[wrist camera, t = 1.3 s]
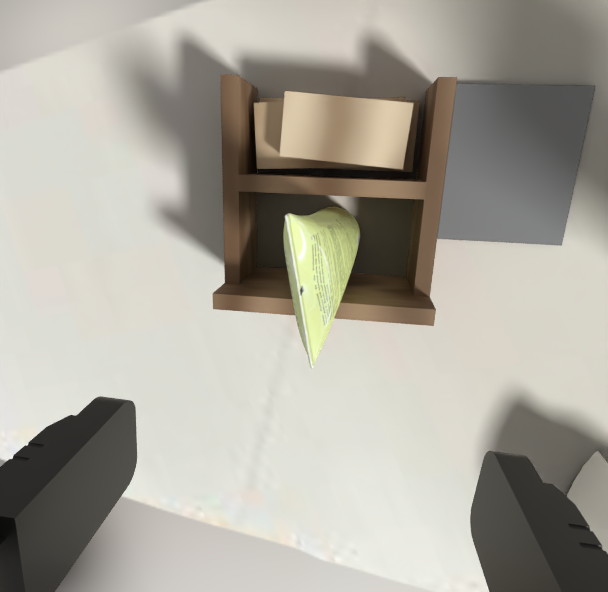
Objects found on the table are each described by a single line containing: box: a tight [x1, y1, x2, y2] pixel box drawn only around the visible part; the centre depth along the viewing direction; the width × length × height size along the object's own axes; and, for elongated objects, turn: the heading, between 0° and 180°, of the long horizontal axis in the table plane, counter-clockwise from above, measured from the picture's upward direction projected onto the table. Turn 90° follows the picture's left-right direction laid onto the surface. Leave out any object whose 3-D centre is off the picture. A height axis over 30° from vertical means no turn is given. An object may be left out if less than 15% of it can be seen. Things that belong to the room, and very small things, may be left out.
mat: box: [437, 84, 595, 245], centre depth 35 cm, size 10×12×1 cm
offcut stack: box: [254, 91, 420, 172], centre depth 34 cm, size 12×5×5 cm, turn 88°
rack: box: [213, 75, 457, 326], centre depth 33 cm, size 16×16×9 cm
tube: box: [283, 207, 360, 369], centre depth 29 cm, size 6×5×20 cm
